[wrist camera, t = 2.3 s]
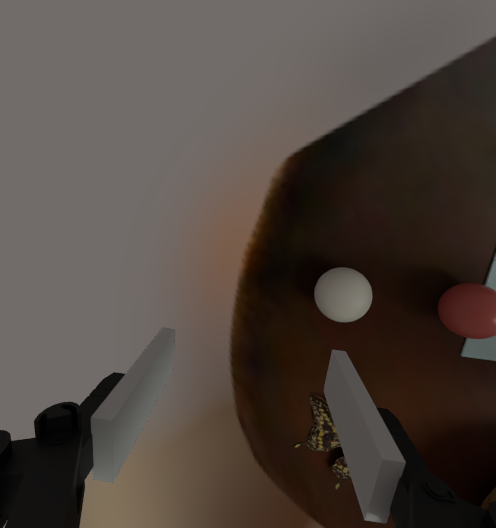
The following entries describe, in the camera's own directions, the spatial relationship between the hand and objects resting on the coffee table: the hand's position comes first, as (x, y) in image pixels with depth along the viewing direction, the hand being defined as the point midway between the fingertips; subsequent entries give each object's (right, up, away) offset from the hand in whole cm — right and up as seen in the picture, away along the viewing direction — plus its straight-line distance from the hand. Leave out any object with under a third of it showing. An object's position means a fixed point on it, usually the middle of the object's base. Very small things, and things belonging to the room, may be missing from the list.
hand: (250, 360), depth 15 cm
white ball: (+10, +2, +14) cm, 17 cm away
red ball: (+24, +1, +13) cm, 28 cm away
